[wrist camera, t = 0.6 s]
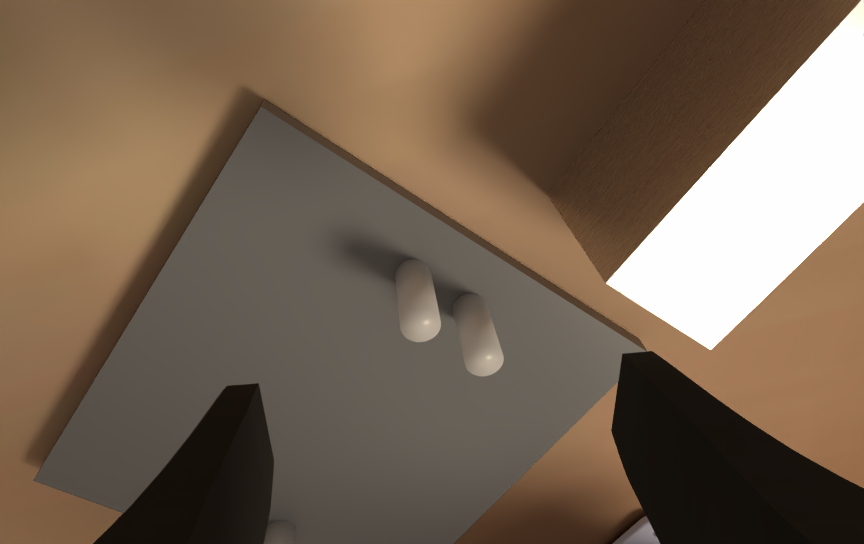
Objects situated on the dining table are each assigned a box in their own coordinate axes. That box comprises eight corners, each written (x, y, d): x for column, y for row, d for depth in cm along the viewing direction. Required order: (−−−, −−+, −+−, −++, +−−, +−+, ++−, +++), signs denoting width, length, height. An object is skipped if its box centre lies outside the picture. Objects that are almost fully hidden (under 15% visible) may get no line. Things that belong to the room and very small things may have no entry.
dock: (639, 339, 25) (682, 405, 22) (387, 591, 31) (391, 674, 27) (264, 99, 19) (244, 138, 16) (42, 464, 25) (-6, 549, 22)
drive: (856, 0, 20) (1036, 33, 14) (631, 251, 23) (710, 350, 18) (772, -87, 18) (938, -86, 13) (546, 193, 22) (605, 283, 17)
